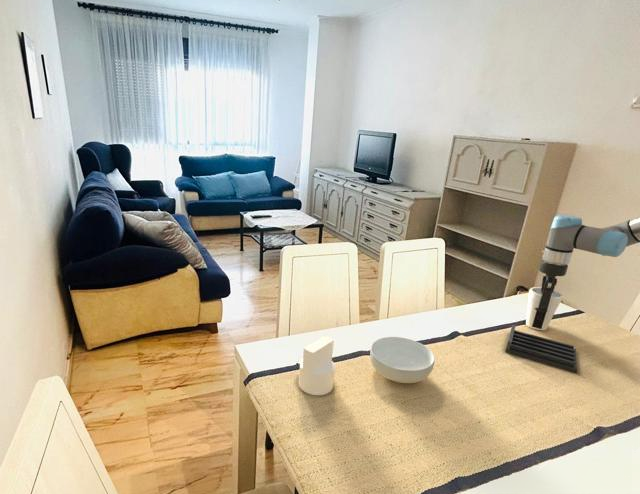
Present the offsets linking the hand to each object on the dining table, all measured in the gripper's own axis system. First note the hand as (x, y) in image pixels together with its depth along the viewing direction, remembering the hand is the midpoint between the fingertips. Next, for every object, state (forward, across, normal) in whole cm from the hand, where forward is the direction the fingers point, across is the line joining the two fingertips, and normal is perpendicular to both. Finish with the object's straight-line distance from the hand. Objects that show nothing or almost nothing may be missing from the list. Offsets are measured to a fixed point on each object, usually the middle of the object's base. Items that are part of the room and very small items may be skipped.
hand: (537, 322), depth 136 cm
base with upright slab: (+2, +77, -46) cm, 90 cm away
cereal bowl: (+2, +59, -30) cm, 66 cm away
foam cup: (+2, 0, 0) cm, 2 cm away
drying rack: (+2, +20, +2) cm, 20 cm away
